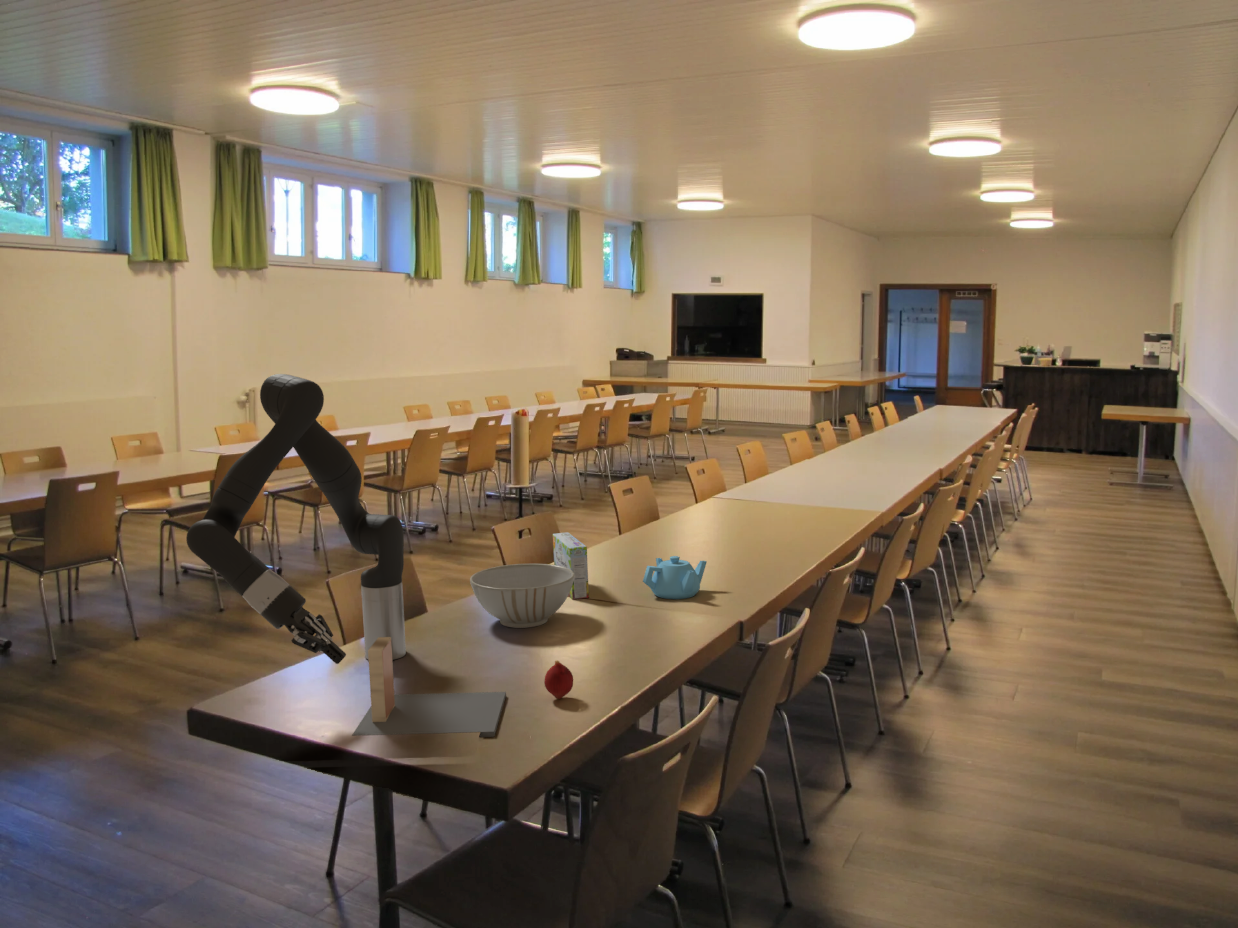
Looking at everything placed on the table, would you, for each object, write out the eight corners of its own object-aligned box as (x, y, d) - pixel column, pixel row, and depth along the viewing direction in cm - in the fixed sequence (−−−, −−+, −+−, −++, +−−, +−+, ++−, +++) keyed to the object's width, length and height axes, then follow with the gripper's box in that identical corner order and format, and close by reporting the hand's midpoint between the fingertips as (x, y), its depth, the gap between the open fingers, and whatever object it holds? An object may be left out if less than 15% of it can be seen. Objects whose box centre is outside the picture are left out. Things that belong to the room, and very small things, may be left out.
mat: (378, 699, 195) (378, 694, 194) (506, 696, 195) (505, 691, 195) (352, 740, 175) (351, 735, 175) (494, 736, 175) (494, 731, 175)
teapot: (657, 585, 280) (657, 549, 279) (707, 588, 275) (707, 551, 274) (641, 598, 266) (640, 561, 265) (693, 602, 261) (693, 564, 260)
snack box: (553, 582, 286) (551, 533, 284) (571, 580, 288) (569, 531, 286) (571, 600, 266) (569, 547, 264) (590, 598, 268) (588, 545, 266)
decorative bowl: (527, 643, 229) (525, 594, 227) (450, 625, 245) (447, 579, 243) (596, 616, 250) (595, 571, 248) (521, 601, 266) (520, 559, 264)
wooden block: (382, 705, 188) (378, 637, 187) (395, 705, 189) (391, 636, 187) (372, 721, 181) (368, 650, 179) (385, 721, 181) (381, 650, 179)
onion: (574, 692, 196) (572, 655, 195) (573, 703, 190) (572, 664, 189) (545, 693, 196) (544, 656, 195) (544, 704, 190) (543, 665, 189)
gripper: (275, 593, 175) (345, 656, 176) (298, 576, 188) (364, 635, 189) (247, 622, 175) (318, 685, 177) (273, 603, 188) (338, 662, 190)
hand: (342, 659), depth 183 cm, fingers closed
